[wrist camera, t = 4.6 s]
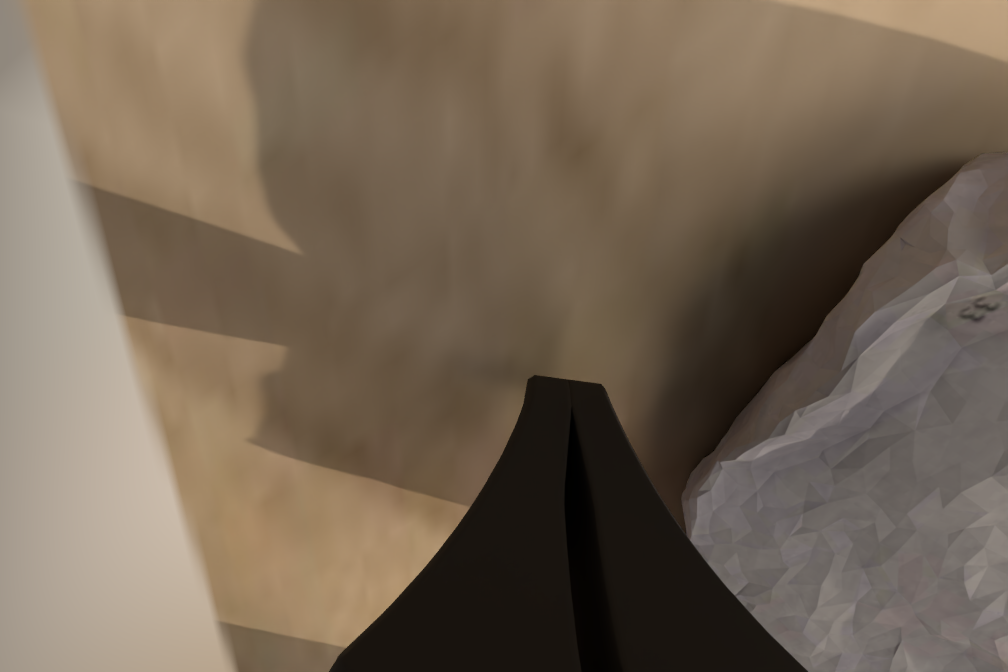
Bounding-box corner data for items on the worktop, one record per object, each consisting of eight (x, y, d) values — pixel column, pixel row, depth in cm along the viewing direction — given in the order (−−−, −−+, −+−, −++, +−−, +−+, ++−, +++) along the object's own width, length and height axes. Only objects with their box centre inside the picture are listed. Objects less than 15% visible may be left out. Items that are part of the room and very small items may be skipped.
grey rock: (646, 519, 18) (1035, 634, 17) (627, 682, 14) (1134, 851, 13) (812, 68, 12) (1471, 191, 10) (860, 139, 8) (1943, 354, 6)
